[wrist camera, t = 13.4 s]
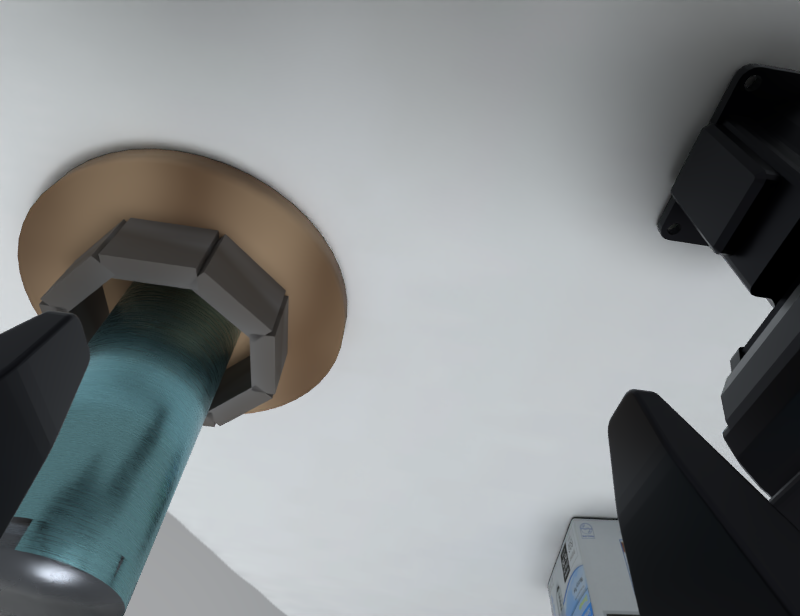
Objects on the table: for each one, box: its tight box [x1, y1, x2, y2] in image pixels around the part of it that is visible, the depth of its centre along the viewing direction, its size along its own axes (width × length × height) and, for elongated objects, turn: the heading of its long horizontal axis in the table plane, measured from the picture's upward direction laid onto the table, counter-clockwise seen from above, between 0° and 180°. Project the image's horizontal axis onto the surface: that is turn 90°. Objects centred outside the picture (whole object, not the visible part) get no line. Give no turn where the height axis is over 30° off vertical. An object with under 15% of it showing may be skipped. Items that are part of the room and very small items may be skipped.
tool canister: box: [0, 281, 241, 616], centre depth 19 cm, size 5×5×12 cm
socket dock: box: [18, 149, 347, 427], centre depth 23 cm, size 14×14×4 cm
